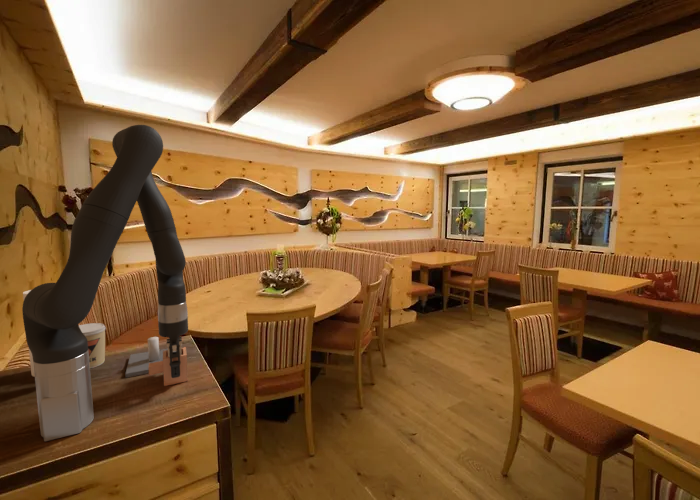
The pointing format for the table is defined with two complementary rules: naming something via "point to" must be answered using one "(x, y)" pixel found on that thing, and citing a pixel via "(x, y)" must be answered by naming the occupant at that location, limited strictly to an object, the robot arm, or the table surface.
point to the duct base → (144, 359)
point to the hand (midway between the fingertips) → (175, 370)
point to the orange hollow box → (166, 369)
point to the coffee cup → (95, 342)
